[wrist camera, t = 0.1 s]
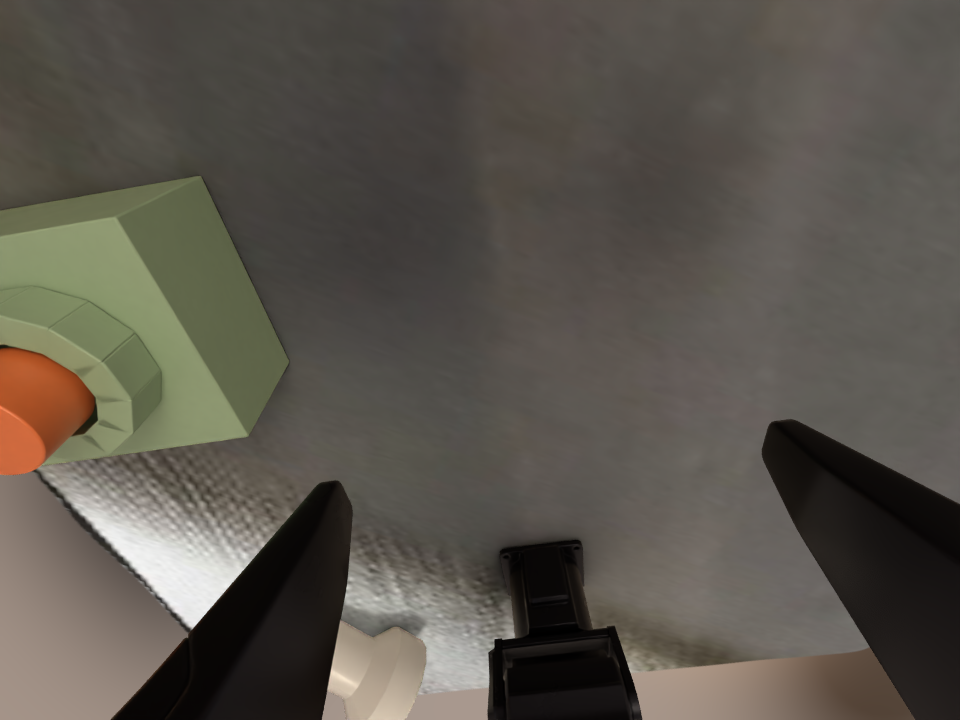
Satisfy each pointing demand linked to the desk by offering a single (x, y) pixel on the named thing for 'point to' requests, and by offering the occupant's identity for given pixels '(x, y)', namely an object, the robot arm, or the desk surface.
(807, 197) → the desk surface
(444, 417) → the desk surface
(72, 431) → the orange cylinder cap
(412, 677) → the spotlight
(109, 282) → the green push button box
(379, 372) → the desk surface
